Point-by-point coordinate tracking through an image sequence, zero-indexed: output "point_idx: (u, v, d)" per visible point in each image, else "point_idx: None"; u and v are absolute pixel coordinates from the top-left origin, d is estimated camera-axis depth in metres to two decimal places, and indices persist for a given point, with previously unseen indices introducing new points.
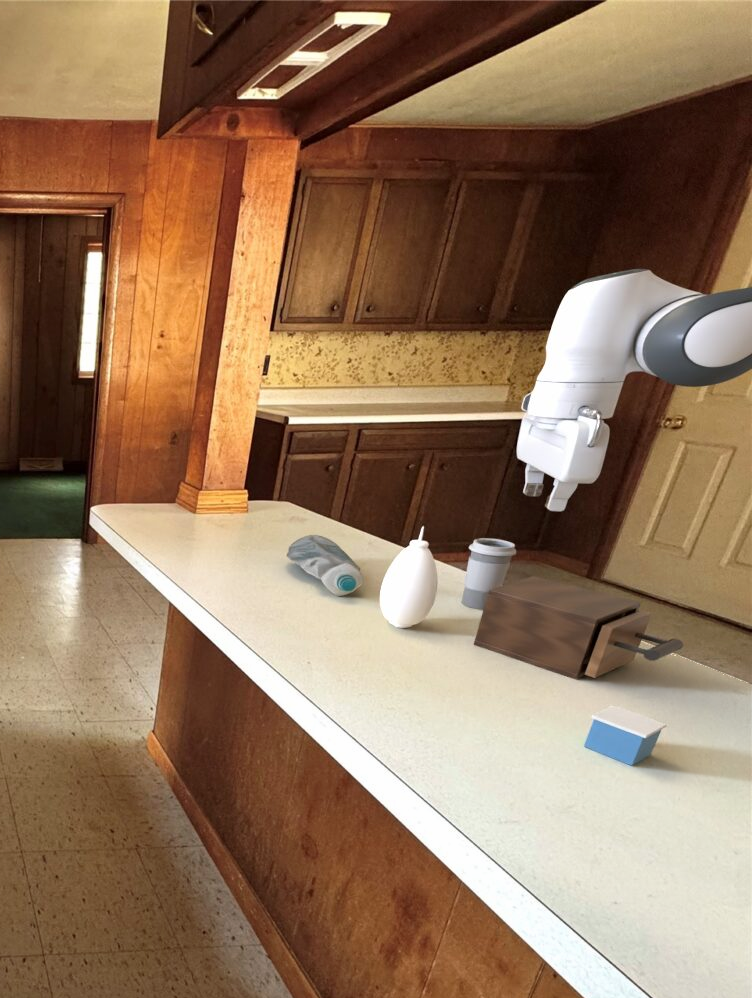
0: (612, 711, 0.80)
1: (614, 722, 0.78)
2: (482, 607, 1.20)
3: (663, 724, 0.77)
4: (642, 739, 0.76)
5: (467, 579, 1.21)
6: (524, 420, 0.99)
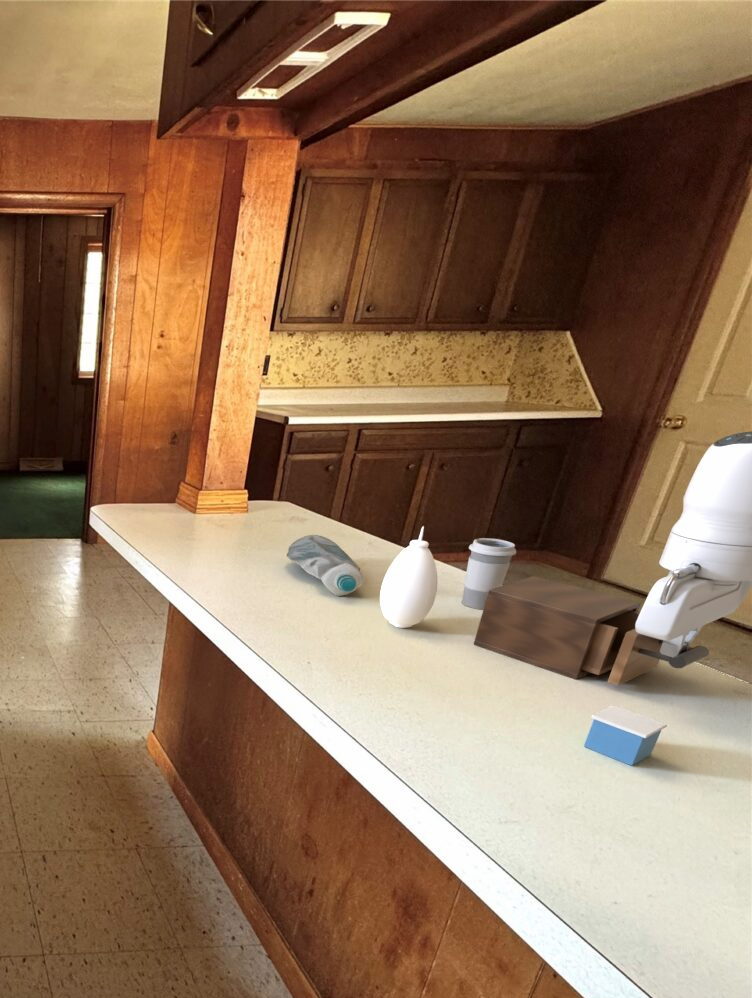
0: (612, 711, 0.80)
1: (614, 722, 0.78)
2: (482, 607, 1.20)
3: (663, 724, 0.77)
4: (642, 739, 0.76)
5: (467, 579, 1.21)
6: None
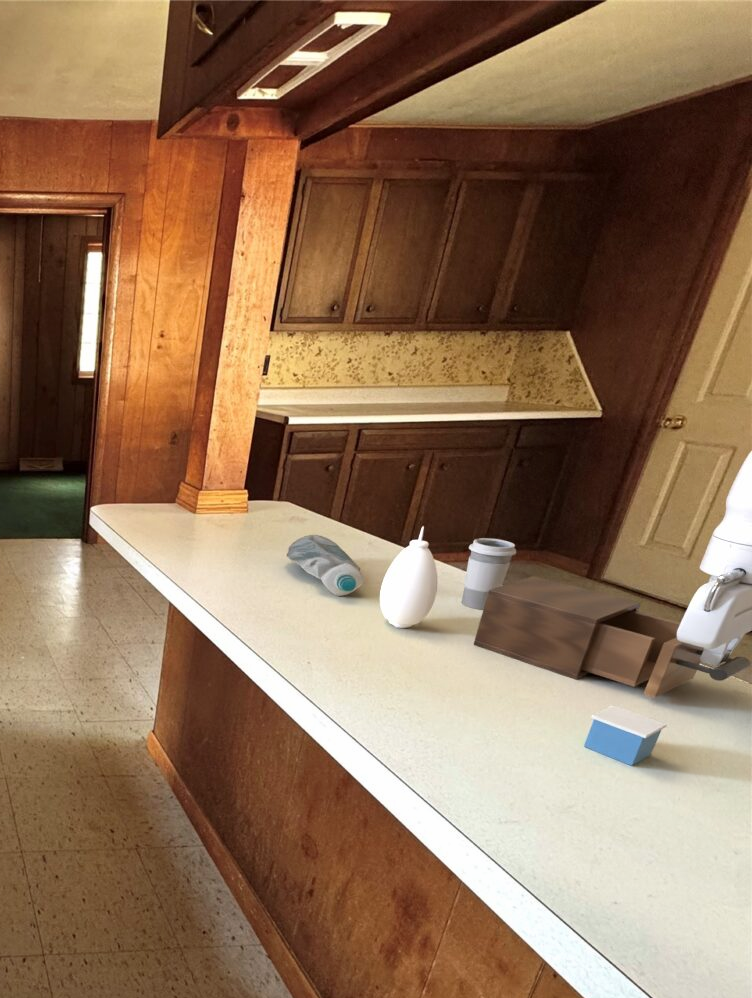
0: (612, 711, 0.80)
1: (614, 722, 0.78)
2: (482, 607, 1.20)
3: (663, 724, 0.77)
4: (642, 739, 0.76)
5: (467, 579, 1.21)
6: None
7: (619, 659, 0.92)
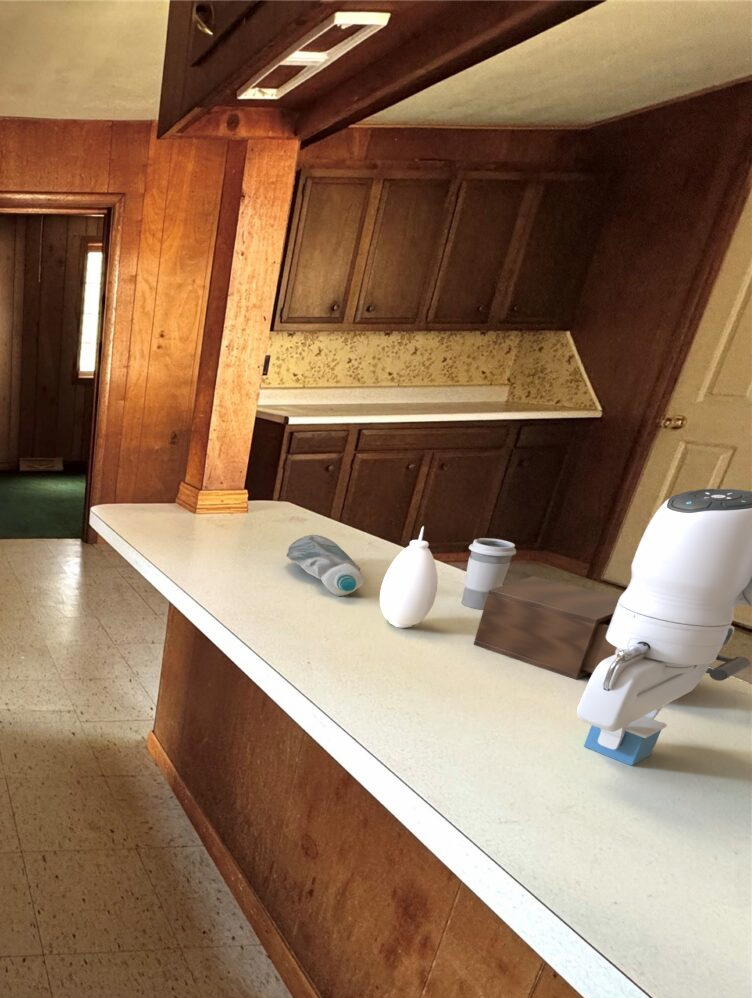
0: None
1: None
2: (482, 607, 1.20)
3: (663, 724, 0.77)
4: (642, 739, 0.76)
5: (467, 579, 1.21)
6: None
7: None
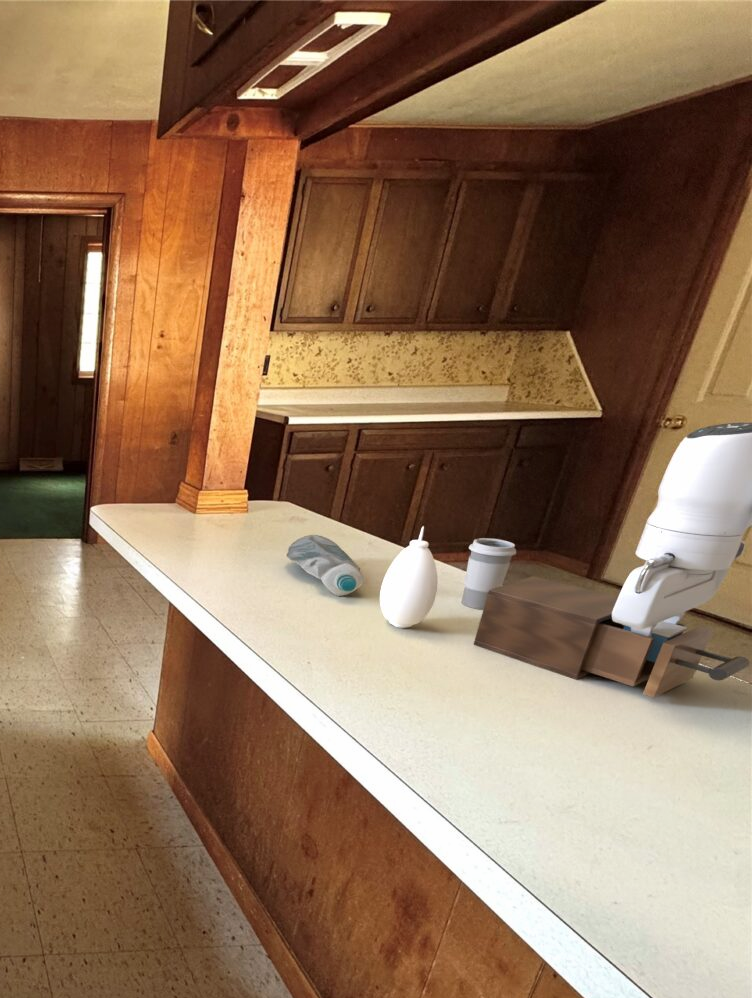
0: None
1: None
2: (482, 607, 1.20)
3: (684, 627, 0.91)
4: (666, 639, 0.89)
5: (467, 579, 1.21)
6: None
7: (618, 659, 0.92)
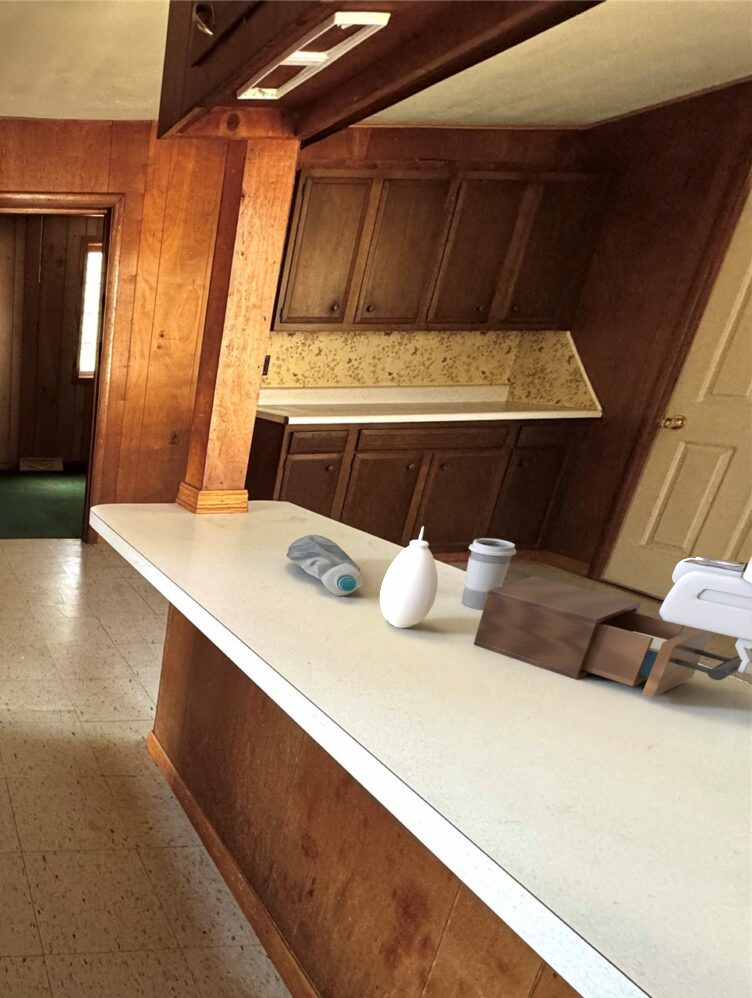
0: None
1: None
2: (482, 607, 1.20)
3: None
4: None
5: (467, 579, 1.21)
6: None
7: (618, 659, 0.92)
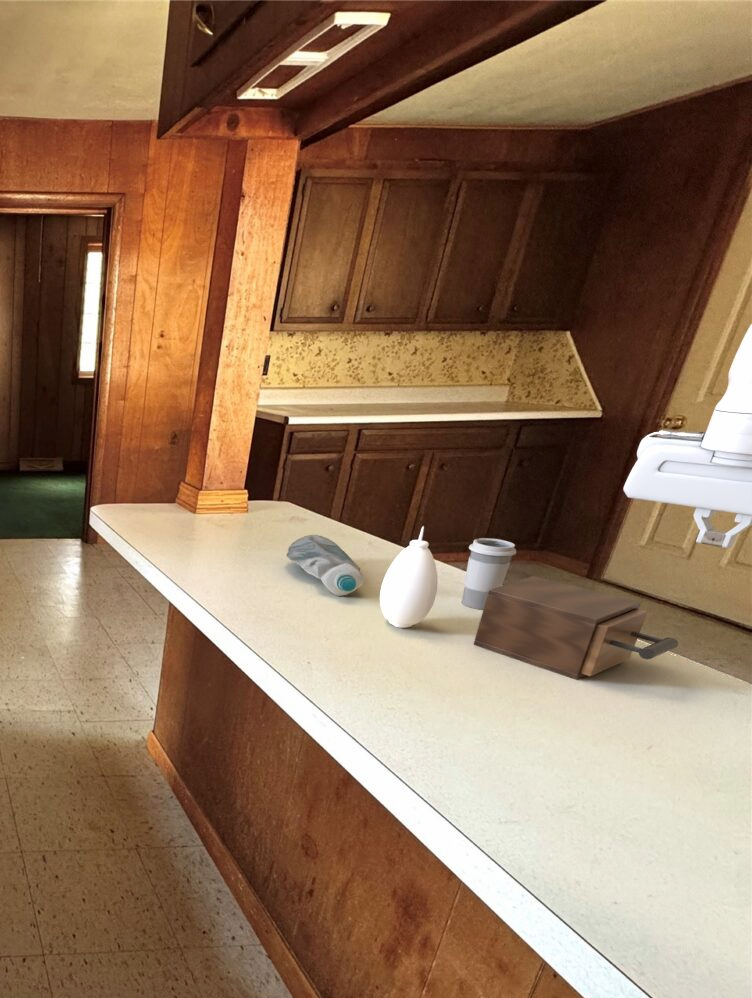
0: None
1: None
2: (482, 607, 1.20)
3: None
4: None
5: (467, 579, 1.21)
6: None
7: None
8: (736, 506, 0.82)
